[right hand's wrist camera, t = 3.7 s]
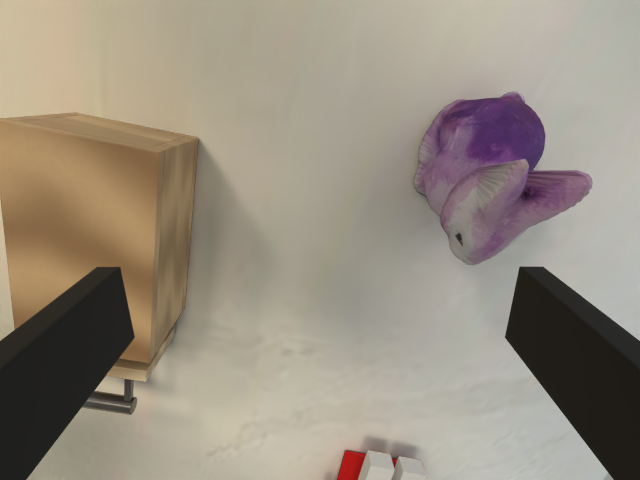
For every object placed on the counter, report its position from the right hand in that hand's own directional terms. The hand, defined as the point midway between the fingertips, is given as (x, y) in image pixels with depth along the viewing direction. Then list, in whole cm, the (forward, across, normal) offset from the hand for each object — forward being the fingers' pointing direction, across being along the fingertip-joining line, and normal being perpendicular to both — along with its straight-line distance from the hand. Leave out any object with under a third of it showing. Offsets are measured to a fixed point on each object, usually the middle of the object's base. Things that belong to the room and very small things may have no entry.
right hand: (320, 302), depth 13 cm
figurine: (+23, +12, +1) cm, 26 cm away
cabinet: (+23, -18, -4) cm, 29 cm away
